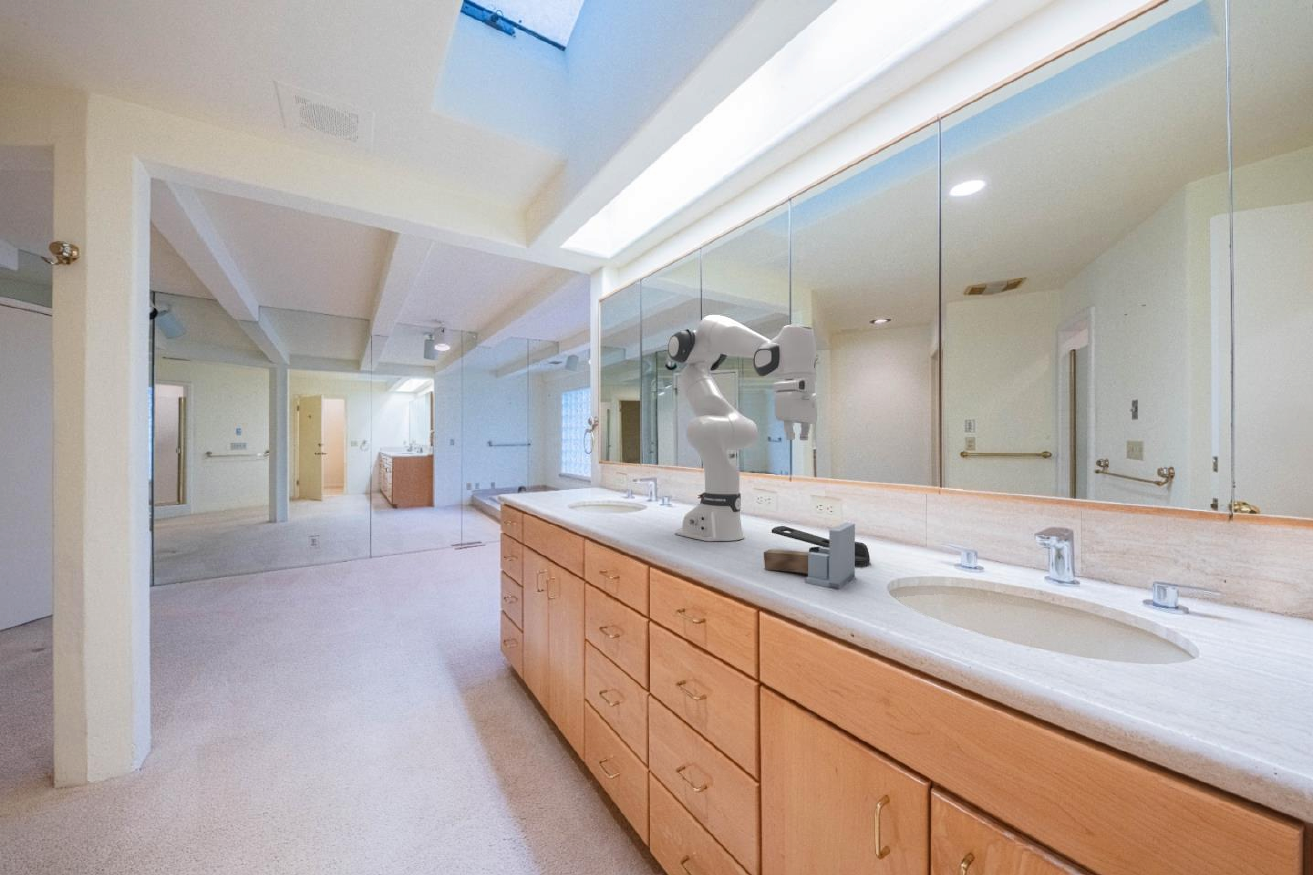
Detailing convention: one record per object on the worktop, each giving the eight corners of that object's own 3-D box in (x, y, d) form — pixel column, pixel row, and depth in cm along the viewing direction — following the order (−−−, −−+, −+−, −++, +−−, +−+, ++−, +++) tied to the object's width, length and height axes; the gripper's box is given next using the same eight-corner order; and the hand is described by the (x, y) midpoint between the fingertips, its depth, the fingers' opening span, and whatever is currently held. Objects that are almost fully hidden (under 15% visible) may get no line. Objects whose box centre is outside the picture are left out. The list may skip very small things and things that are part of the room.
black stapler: (781, 524, 134) (873, 536, 118) (781, 547, 134) (873, 562, 118) (768, 528, 127) (863, 541, 111) (768, 552, 127) (863, 569, 111)
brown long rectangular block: (764, 569, 110) (763, 552, 110) (770, 566, 112) (769, 549, 113) (823, 574, 101) (822, 556, 101) (828, 571, 104) (827, 553, 104)
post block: (805, 582, 99) (805, 527, 99) (823, 570, 109) (823, 520, 109) (838, 589, 95) (839, 531, 95) (854, 576, 104) (854, 523, 105)
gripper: (800, 391, 129) (799, 440, 128) (770, 383, 113) (769, 439, 112) (823, 390, 125) (822, 440, 125) (795, 381, 109) (794, 439, 108)
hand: (797, 440), depth 118 cm, fingers open, 8 cm apart
